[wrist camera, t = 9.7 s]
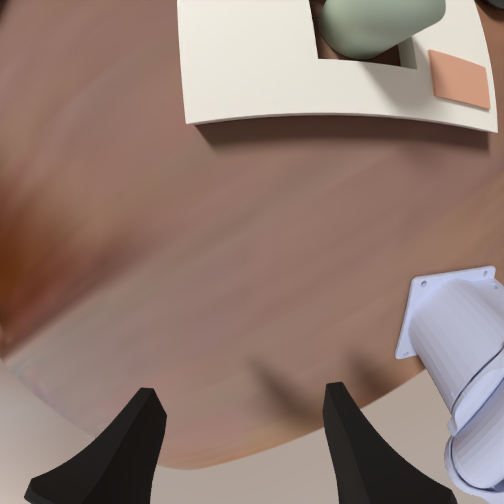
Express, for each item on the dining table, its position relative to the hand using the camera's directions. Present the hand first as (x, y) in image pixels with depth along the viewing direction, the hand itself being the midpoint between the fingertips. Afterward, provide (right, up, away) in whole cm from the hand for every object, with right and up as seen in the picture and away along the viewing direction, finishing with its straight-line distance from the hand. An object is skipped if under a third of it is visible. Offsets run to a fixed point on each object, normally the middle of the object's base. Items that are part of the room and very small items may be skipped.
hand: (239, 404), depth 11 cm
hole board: (+7, +20, +2) cm, 21 cm away
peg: (+7, +20, +2) cm, 21 cm away
